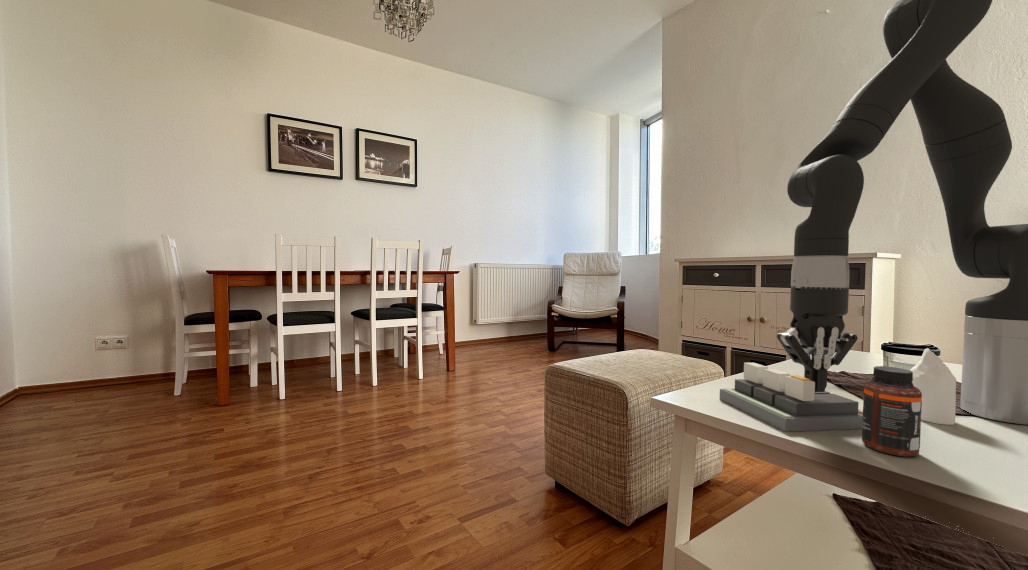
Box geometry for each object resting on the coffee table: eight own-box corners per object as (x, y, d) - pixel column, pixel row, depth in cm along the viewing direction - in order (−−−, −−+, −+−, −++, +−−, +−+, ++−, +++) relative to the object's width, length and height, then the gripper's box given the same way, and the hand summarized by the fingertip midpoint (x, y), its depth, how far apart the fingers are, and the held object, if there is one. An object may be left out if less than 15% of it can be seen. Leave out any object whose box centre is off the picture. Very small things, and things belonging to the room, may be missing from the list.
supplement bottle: (932, 461, 53) (936, 375, 53) (879, 456, 54) (883, 372, 54) (898, 442, 59) (902, 365, 58) (851, 438, 60) (855, 362, 60)
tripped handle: (795, 393, 68) (796, 374, 67) (814, 400, 64) (815, 380, 64) (784, 394, 67) (785, 374, 67) (802, 401, 64) (803, 380, 64)
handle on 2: (773, 385, 73) (773, 368, 72) (789, 391, 69) (789, 373, 69) (762, 385, 72) (763, 368, 72) (778, 391, 69) (779, 374, 69)
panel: (794, 397, 80) (795, 377, 80) (876, 428, 64) (877, 403, 64) (719, 399, 78) (720, 378, 78) (785, 431, 62) (786, 406, 62)
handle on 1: (753, 378, 77) (753, 362, 77) (767, 383, 74) (767, 367, 74) (743, 378, 77) (744, 362, 77) (757, 383, 74) (757, 367, 74)
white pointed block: (969, 353, 65) (927, 351, 66) (965, 426, 65) (924, 423, 67) (939, 346, 71) (901, 344, 72) (936, 414, 71) (898, 411, 73)
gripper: (834, 284, 70) (830, 383, 71) (764, 283, 68) (761, 385, 69) (878, 285, 63) (873, 396, 63) (801, 285, 61) (797, 399, 61)
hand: (814, 390), depth 66 cm, fingers closed
